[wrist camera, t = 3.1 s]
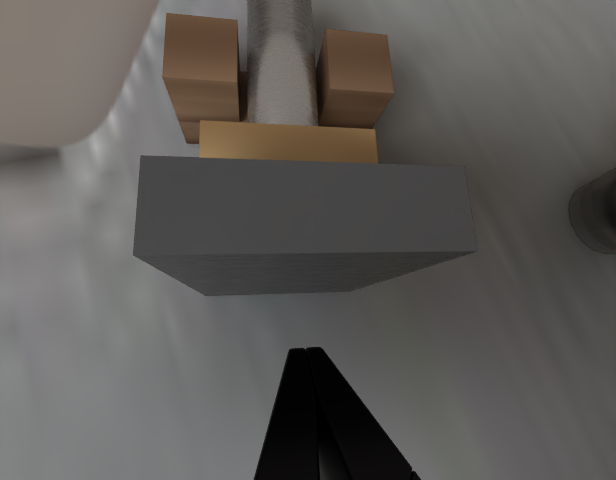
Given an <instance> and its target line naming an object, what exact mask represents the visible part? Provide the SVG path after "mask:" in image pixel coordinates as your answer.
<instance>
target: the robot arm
mask: <svg viewBox="0 0 616 480" xmlns="http://www.w3.org/2000/svg"><path fill="white" fill-rule="evenodd" d="M254 480H421V479H420V477H419V476H418V475H417V473H416V472H415V471H412V467H411V466H410V464H409V463H408V462H407V460H406V459H405V458H404V456H403V455H402V454H401V452H400V451H399V450H398V448H397V447H396V446H395V444H394V443H393V442H392V440H391V439H390V438H389V436H388V435H387V434H386V432H385V431H384V430H383V428H382V427H381V426H380V424H379V423H378V422H377V420H376V419H375V418H374V416H373V415H372V414H371V412H370V411H369V410H368V408H367V407H366V406H365V404H364V403H363V402H362V400H361V399H360V398H359V396H358V395H357V394H356V392H355V391H354V390H353V389H352V387H351V386H350V385H349V383H348V382H347V381H346V379H345V378H344V377H343V375H342V374H341V373H340V371H339V370H338V369H337V367H336V366H335V365H334V363H333V362H332V361H331V359H330V358H329V357H328V355H327V354H326V353H325V351H324V350H323V349H322V348H321V347H309V348H306V349H304V348H293V349H290V350H289V352H288V355H287V359H286V362H285V366H284V370H283V373H282V377H281V381H280V384H279V388H278V392H277V395H276V399H275V403H274V406H273V410H272V414H271V418H270V421H269V425H268V429H267V432H266V436H265V440H264V443H263V447H262V451H261V454H260V458H259V462H258V465H257V469H256V473H255V476H254Z"/></svg>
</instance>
